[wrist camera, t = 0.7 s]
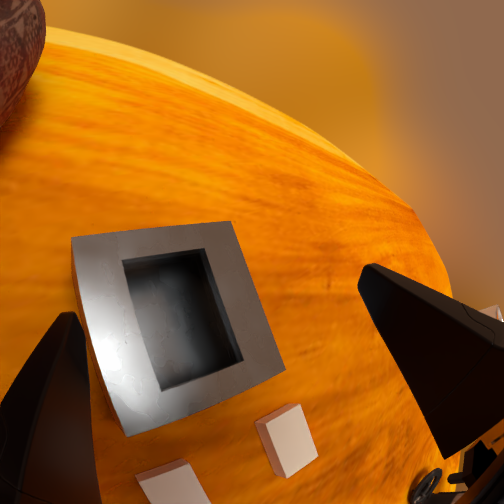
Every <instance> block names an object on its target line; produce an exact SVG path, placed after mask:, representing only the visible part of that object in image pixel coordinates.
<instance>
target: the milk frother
mask: <svg viewBox="0 0 504 504" xmlns="http://www.w3.org/2000/svg"><path fill="white" fill-rule="evenodd" d="M434 476H435V477H434ZM441 476H442V469H440V468H436V469H434V470H433V471H431V472H430V473H429V474H427V475H426V476H425V477H424V478H423V479H422V480H421V482H420V483H419V484H418V485H417V487H416V488H415V490H412V491H413V493H412V496H411V499H410V503H411V504H420V503H421V504H454V503H455V502H456V501H457V500H458V499H459V498H460V497H461V496H462V495H463V494H464V493H465V492H466V491H462V492H439V493H438V494H434V493H432V492H433V490H434V489H435V487H436V486H437V484H438V482H439V480H440V478H441ZM433 479H434V480H433ZM432 480H433V482H432ZM447 480H448V482H449V483H450V484H457V483H464V481H463V479H462V472H459V473H453V474H450V475H449V476H448V478H447ZM431 482H432V484H431ZM430 485H431V486H430Z"/></svg>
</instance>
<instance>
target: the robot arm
mask: <svg viewBox="0 0 504 504" xmlns="http://www.w3.org/2000/svg"><path fill="white" fill-rule="evenodd" d="M358 291H359V293H360V295H361V297H362V299H363V301H364V303H365V305H366V307H367V310H368V312H369V314H370V316H371V318H372V320H373V322H374V324H375V326H376V328H377V330H378V332H379V333H380V335H381V337H382V339H383V340H384V342H385V344H386V346H387V347H388V349H389V351H390V353H391V355H392V356H393V358H394V360H395V362H396V364H397V365H398V367H399V369H400V371H401V373H402V375H403V377H404V378H405V380H406V382H407V384H408V386H409V388H410V390H411V392H412V394H413V396H414V398H415V400H416V402H417V404H418V406H419V408H420V410H421V412H422V414H423V416H424V418H425V420H426V422H427V424H428V426H429V429H430V431H431V433H432V435H433V437H434V439H435V441H436V444H437V446H438V448H439V450H440V452H441V455H442V457H443V458H444V460H445V459H447V458H449V457H450V456H452V455H454V454H455V453H457V452H458V451H460V450H461V449H463V448H465V447H466V446H467V445H469V444H471V443H472V442H473V441H475V440H476V439H477V440H476V441H475V443H473V444H472V445H471V446H470V448H469V449H468V450H467V451H466V452H465V455H464V464H463V472H462V479H463V481H464V483H465V484H466V486H467V487H468V490H467V491H466V492H465V493H464V494H463V495H462V496H461V497H460V498H459V499H458V500H457V501H456V502H455V503H454V504H504V322H502V321H500V320H498V319H495V318H493V317H491V316H488V315H486V314H484V313H482V312H479V311H477V310H475V309H473V308H470V307H469V306H467V305H465V304H463V303H460V302H459V301H456V300H454V299H452V298H450V297H448V296H446V295H444V294H442V293H440V292H438V291H436V290H433V289H431V288H429V287H427V286H425V285H423V284H421V283H418V282H416V281H414V280H412V279H410V278H408V277H405V276H403V275H401V274H399V273H397V272H394V271H392V270H390V269H388V268H385V267H383V266H381V265H379V264H376V263H372V264H367V265H365V266H364V267H363V270H362V273H361V275H360V278H359V281H358ZM0 504H102V501H101V496H100V491H99V485H98V479H97V472H96V465H95V457H94V448H93V438H92V425H91V406H90V383H89V374H88V363H87V351H86V337H85V333H84V330H83V328H82V326H81V324H80V322H79V319H78V317H77V315H76V313H75V312H73V311H70V312H62V313H60V314H59V316H58V317H57V318H56V320H55V321H54V322H53V324H52V325H51V326H50V328H49V329H48V331H47V332H46V333H45V335H44V336H43V338H42V339H41V340H40V342H39V343H38V345H37V346H36V348H35V349H34V351H33V352H32V353H31V355H30V356H29V358H28V359H27V361H26V363H25V364H24V366H23V367H22V369H21V370H20V372H19V373H18V375H17V377H16V378H15V380H14V382H13V383H12V385H11V387H10V388H9V390H8V392H7V393H6V395H5V397H4V399H3V400H2V402H1V404H0Z"/></svg>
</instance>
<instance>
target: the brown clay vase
mask: <svg viewBox="0 0 504 504" xmlns="http://www.w3.org/2000/svg"><path fill="white" fill-rule="evenodd" d="M45 36H46V23H45V12H44V9H43V6H42V4H41V2H40V0H0V128H1V126H2V125H3V124H4V122H5V121H6V120H7V119H8V118H9V117H10V115H11V113H12V112H13V110H14V108H15V107H16V105H17V103H18V101H19V100H20V98H21V96H22V94H23V92H24V90H25V88H26V86H27V84H28V82H29V80H30V78H31V76H32V74H33V72H34V71H35V69H36V66H37V64H38V62H39V59H40V57H41V54H42V51H43V48H44V44H45Z"/></svg>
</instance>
